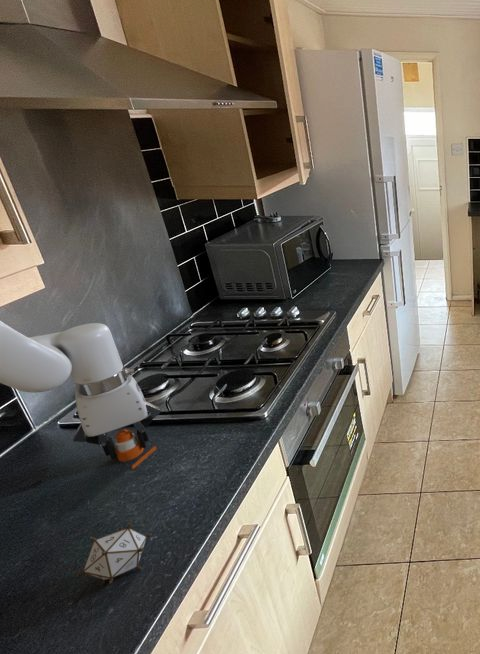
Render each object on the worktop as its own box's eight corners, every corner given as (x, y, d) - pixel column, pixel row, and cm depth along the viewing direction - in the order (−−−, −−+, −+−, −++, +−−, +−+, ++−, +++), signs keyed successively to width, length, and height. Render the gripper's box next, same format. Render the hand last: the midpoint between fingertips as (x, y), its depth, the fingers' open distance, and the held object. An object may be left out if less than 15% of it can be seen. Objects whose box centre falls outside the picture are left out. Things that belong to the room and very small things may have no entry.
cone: (107, 467, 91) (95, 439, 88) (132, 447, 97) (121, 420, 94) (133, 469, 91) (121, 441, 88) (156, 448, 96) (146, 421, 94)
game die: (134, 590, 72) (109, 593, 64) (82, 579, 71) (49, 580, 63) (170, 531, 78) (151, 527, 70) (122, 519, 76) (97, 514, 69)
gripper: (153, 359, 94) (175, 424, 101) (46, 388, 84) (78, 458, 90) (155, 373, 89) (178, 441, 96) (41, 407, 79) (75, 480, 85)
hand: (129, 449), depth 93 cm, fingers closed on cone, 4 cm apart
